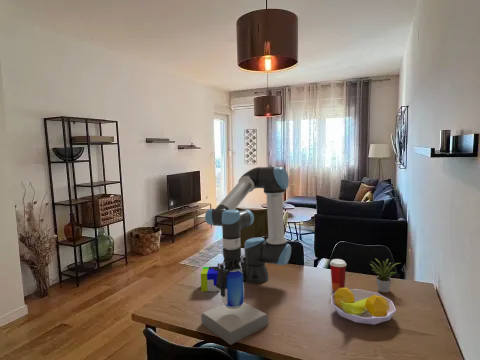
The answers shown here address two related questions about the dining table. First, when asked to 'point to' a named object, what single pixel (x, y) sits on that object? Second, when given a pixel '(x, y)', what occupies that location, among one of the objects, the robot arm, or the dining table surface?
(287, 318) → the dining table surface
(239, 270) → the beer can
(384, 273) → the house plant
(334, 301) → the fruit bowl
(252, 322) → the plinth
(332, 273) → the coffee cup
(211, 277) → the puzzle toy
